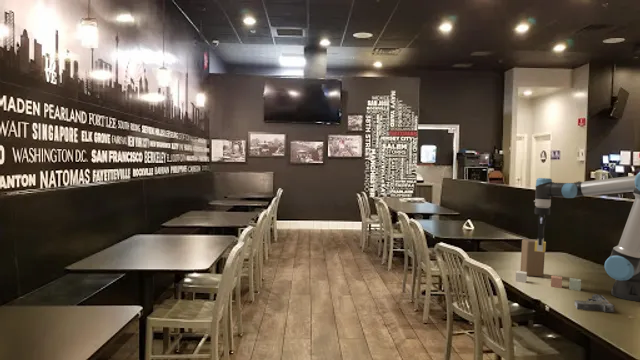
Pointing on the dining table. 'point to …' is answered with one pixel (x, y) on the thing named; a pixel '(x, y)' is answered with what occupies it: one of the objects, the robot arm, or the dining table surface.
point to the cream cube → (521, 276)
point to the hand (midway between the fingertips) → (540, 250)
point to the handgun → (595, 304)
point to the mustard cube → (543, 246)
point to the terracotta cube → (556, 281)
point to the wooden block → (531, 259)
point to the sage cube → (575, 284)
